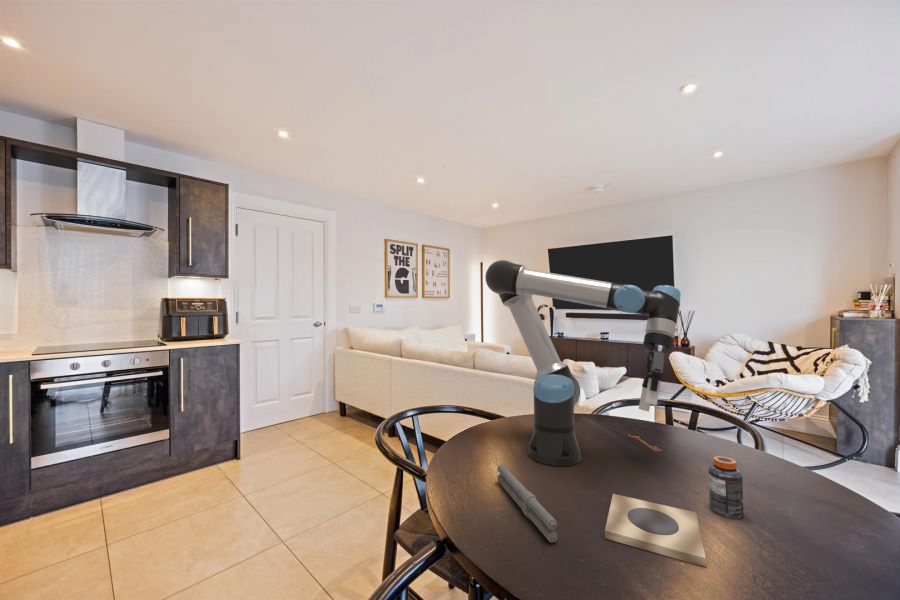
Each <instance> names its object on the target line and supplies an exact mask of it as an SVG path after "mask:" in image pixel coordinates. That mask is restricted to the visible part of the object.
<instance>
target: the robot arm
mask: <svg viewBox="0 0 900 600" xmlns="http://www.w3.org/2000/svg"><path fill="white" fill-rule="evenodd" d="M485 283H486V286H487V287H488V289H489V290H490V291H492V293H495V294H498V296H499V298H500V301H501V303H502V305H503V306H505V307H506V308H509V310H510V312H511V314H512V317H513V319H514V322H515V324H516V326H517V328H518V331H519V332H520V335H521V338H522V340H523V342H524V344H525V346H526V348H527V351H528V353H529V355H530V357H531V359H532V362H533V364H534V366H535V369H536V373H535V380H534V383H533V390H532V392H533V419H534V420H533V421H534V422H533V423H534V425H533V427H534V429H533V432H532V435H531V438H530V440H529V444H528V455H530V456H529V457H530V458H531V459H532V460H534V461H536V462H538V463H540V464H544V465H549V466H555V467H569V466H574V465H576V464H579V463H580V462H581V460H582V456H581V453H582V452H581V449H580V445H579V442H578V439H577V435H576V433H575V406H576V404H577V403H578V401H579V399H580V397H581V387H580V386H581V385H580V384H579V381H578V379H577V378H576V377H575V376H574V375H573V374H572V372H571V369H570V367H569V365H568V364H567V363H565V362H563V361H561V359H560V357H559V354H558V352H557V349H556V348H555V345H554V344H553V342H552V339H551V337H550V335H549V333H548V331H547V328H546V327H545V324H544V321H543V319H542V318H541V315H540V313H539V311H538V309H537V307H536V304H535V302H534V301H533V300H534V299H533V296H540V297H545V298H550V299H556V300H560V301H567V302H571V303H577V304H583V305H588V306H594V307H598V308H604V309H609V310H612V311H613V310H614V311H618V312H623V313H627V314H637V315H642V316H647V320H646V326H645V330H644V332H645V334H644V336H643V337H644V338H643V343H642V346H643V347H644V348H645V349H647V350H649V352H648V353H647V357H646V360H647V361H646V364H645V366H646V367H645V368H646V369H645V372H644V376H643V381H642V383H641V387H642V388H641V395H640V400H639V403H638V404H639V405H638V410H641V411H645V412H650V409H651V405H653V406H657V405H658V400H659V392H660V388H661V387H660V386H661V379H662V377H663V376H664V364H665V363H664V362H665V358H666V354H665V353H670V352H672V351H673V349H674V348H673V347H674V342H675V340H674V338H675V335H676V333H677V332H678V331H679V329H678V328H676V326H677V323H678V317H679V311H680V306H681V294H682V293H681V291H680V289H679V288H677V287H675V286H672V285H668V284H665V285H661V284H660V285H657V286H655V287H654V288H653V289H652V291H651V290H650V291H649V290H642V288H640V287H638V286H637V285H633V284H622V283H621V284H620V283H613V282H609V281H602V280H596V279H593V278H592V279H591V278H585V277H578V276H573V275H566V274H561V273H560V274H559V273H553V272H548V271H542V270H535V269H528V268H527V266H526V265H524V264H518V263H514V262H512V261H509V260H505V259H499V260H497V261H494V262H493V263H491V264H490V265H489V266H488V268H487V269H486V272H485Z"/></svg>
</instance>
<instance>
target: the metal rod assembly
mask: <svg viewBox="0 0 900 600" xmlns="http://www.w3.org/2000/svg"><path fill="white" fill-rule="evenodd" d="M496 470H497V471H498V473H499V474H498V475H497V477H496V478H497V481H498V483H499V484H500V485H501V486H502V488H503V489H504V490H505V491H506V493H508V495H509V497H511V498H512V500H513V501H514V502H515V503H516V504H517V505H518V507H519V508H520V509H521V512H522V514H523V515H524V516H525V517H526V518H527V519H528V520H530V521H531V522H532V523H533V524H534V525H535V527H537V529H538V530H539V531H540V533H542V535H543V536H544V537H545V538H546V540H548V542H549V543H551V544H553V543H556V541H557V540H558V534H557V532H555V530H556V529H557V527H558V521H557V520H556V519H555V517H553V516H552V515H551V513H549V512H548V510H547V509H545V507H544V506H542V504H541V503H540V502H539V501H538V499H537V497H536V495H535V494H533V493H532V492H531V491H529V490H528V489H527V488H526V487H525V486H524V485H523V484H522V483H521V481H519V480H518V479H517V477H516V476H515V475H513V473H512V472H511V471H510V470H509V469H508V468H507V467H506V466H505V465H504V464H502V463H501V464H500V463H499V464H498V465H497V468H496Z"/></svg>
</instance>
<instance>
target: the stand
mask: <svg viewBox="0 0 900 600" xmlns="http://www.w3.org/2000/svg"><path fill="white" fill-rule="evenodd" d="M610 500H611V502H610V506H609V511H608V513H607V518H606V519H607V520H606V524H605V527H604V539H606V540H609V541H612V542H616V543H620V544H624V545H627V546H631V547H635V548H637V549H641V550H644V551H648V552H651V553H654V554H659V555H662V556H666V557H668V558H673V559H676V560H680V561H683V562H686V563H690V564H692V565H697V566H700V567H704V568H706V567H707V562H706V561H707V559H706V553H705V549H704V544H703V540H702V534H701V530H700V529H701V528H700V524H699V520H698V515H697V512H694V511H691V510H687V509H682V508H677V507H673V506H668V505H665V504H660V503H655V502H652V501H648V500H643V499H638V498H634V497H629V496H624V495H621V494H616V493H612V497H611V499H610Z"/></svg>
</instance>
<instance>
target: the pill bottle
mask: <svg viewBox="0 0 900 600" xmlns="http://www.w3.org/2000/svg"><path fill="white" fill-rule="evenodd" d="M712 462H713V464H712V465H710V466H709V467H708V495H709V496H708V497H709V498H708V499H709V501H708V502H709V508H710V509H711V510H712V511H713V512H714V513H716V514H718V515H720V516H722V517H727V518H731V519H740V518H742V517H744V509H745V508H744V487H743V484H744V483H743V475H742V473H741V472H740V471H739V470H737V467H738V466H737V461H736V460H735V459H734V458H731V457H727V456H721V455H720V456H719V455H718V456H717V455H716V456H714V457H713V461H712Z"/></svg>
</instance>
